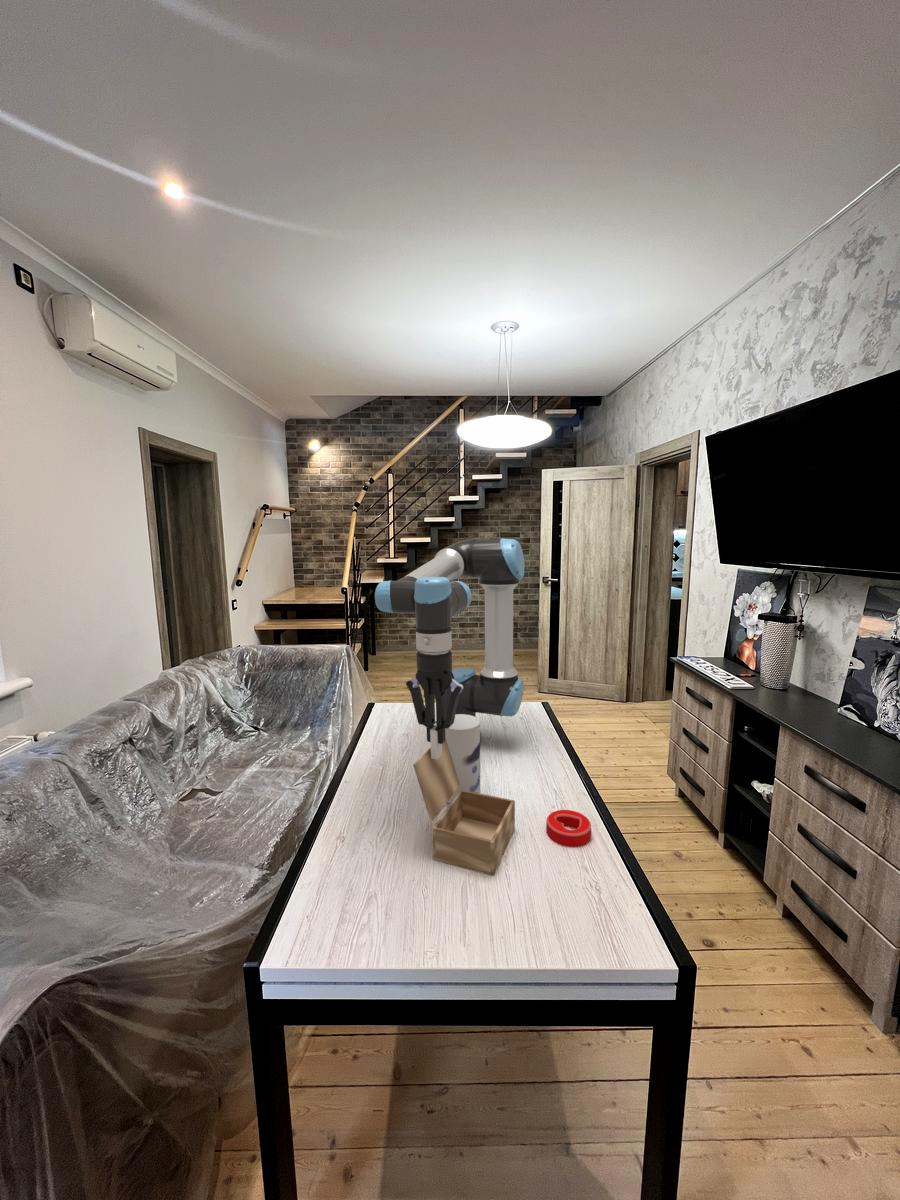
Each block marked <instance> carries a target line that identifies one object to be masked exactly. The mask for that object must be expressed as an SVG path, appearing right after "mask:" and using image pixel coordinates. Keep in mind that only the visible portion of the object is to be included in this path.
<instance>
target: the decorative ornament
mask: <svg viewBox="0 0 900 1200" xmlns="http://www.w3.org/2000/svg"><path fill="white" fill-rule="evenodd" d="M568 828H572V829H568ZM545 831H546V834H547V836H548V838H549V839H550V840H551V841H552V842H554V843H555V844H557V845H559V846H562V847H566V848H580V847H583V846H586V845H587V844H588V843H589V842H590V841H591V839H592V824H591V821H590V820H589V818H588V817H587V816H586V815H584V814H583V813H580V812H578V811H575V810H572V809H571V810H570V809H558V810H555V811H553V812H551V813H549V814H548V816H547V817H546V829H545Z"/></svg>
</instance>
